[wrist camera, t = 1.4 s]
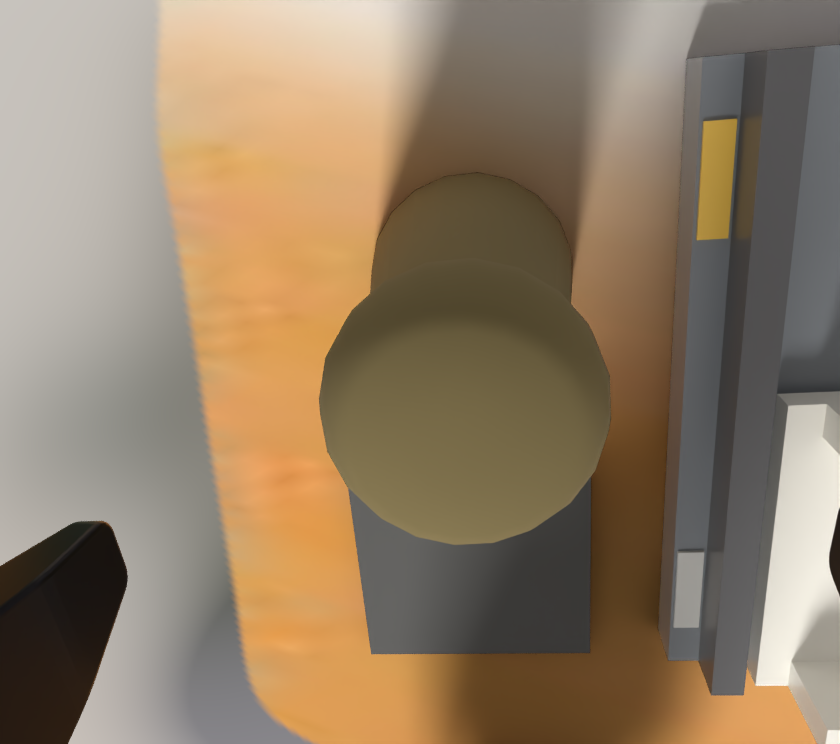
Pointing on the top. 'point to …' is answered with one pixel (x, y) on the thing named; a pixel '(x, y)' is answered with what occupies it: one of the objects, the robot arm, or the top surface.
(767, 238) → the grey slide rail tray
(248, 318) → the top surface
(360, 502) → the rubber pad
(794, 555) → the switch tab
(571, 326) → the cork
